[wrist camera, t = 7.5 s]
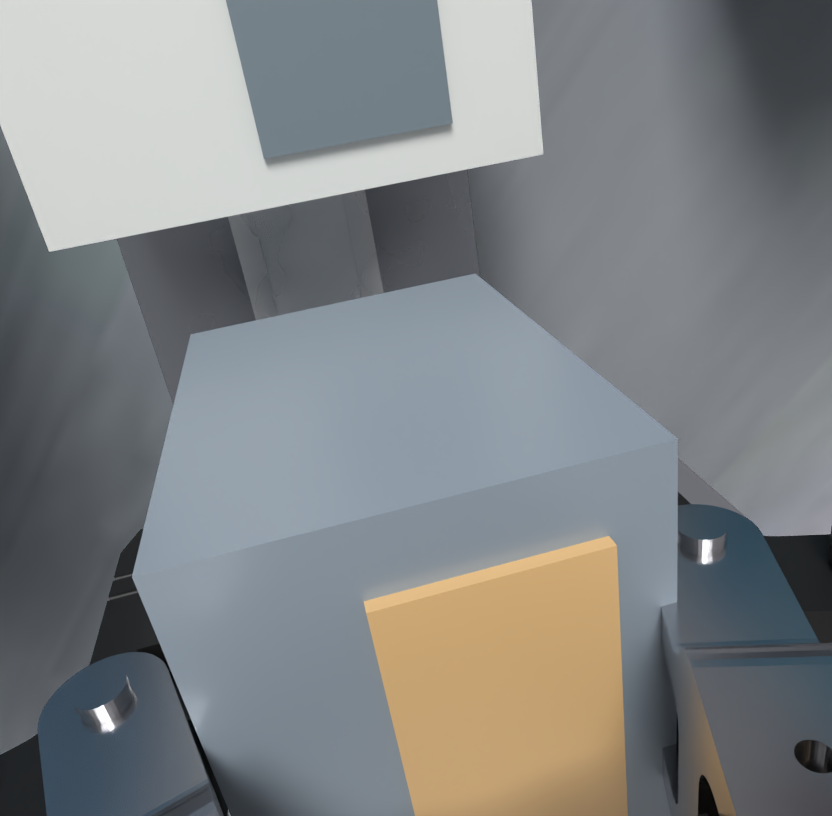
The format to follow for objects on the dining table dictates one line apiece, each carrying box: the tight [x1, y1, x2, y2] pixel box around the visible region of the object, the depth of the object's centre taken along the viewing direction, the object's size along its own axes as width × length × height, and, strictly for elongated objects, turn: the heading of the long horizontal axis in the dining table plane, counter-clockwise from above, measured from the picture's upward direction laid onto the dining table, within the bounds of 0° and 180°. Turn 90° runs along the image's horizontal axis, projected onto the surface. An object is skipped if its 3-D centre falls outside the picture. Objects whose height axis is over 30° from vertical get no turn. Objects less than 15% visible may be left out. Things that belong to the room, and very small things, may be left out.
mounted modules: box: [0, 0, 543, 252], centre depth 16 cm, size 8×22×7 cm, turn 9°
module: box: [132, 273, 678, 816], centre depth 10 cm, size 5×6×6 cm
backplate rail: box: [117, 169, 480, 405], centre depth 20 cm, size 9×22×2 cm, turn 9°
